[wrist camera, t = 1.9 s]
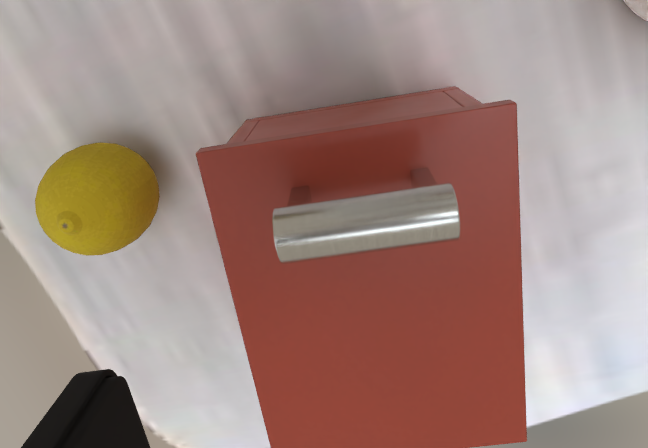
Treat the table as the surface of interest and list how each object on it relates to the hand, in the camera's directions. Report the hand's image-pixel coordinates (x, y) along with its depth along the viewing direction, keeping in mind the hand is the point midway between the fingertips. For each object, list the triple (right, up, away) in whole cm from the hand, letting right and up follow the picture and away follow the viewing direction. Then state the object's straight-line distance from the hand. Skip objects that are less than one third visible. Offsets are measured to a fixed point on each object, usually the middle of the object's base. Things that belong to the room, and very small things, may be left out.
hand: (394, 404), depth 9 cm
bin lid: (+1, 0, +14) cm, 14 cm away
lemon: (-13, +6, +23) cm, 26 cm away
